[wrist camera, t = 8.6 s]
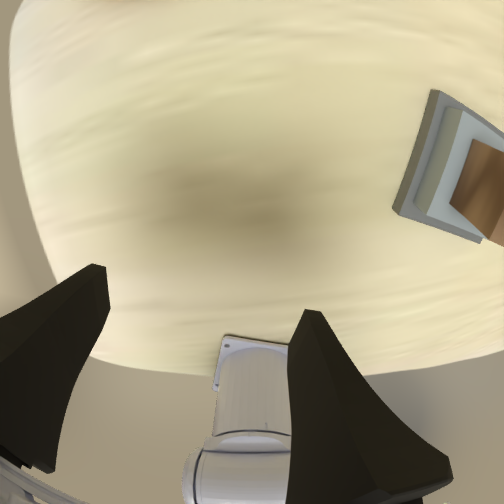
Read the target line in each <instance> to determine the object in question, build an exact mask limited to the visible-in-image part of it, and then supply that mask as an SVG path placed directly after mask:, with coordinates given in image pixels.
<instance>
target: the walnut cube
mask: <svg viewBox="0 0 504 504" xmlns="http://www.w3.org/2000/svg"><path fill="white" fill-rule="evenodd" d="M449 204H450V205H451V206H452V207H454V208H455V209H456V210H457V211H458V212H459V213H460V214H462V215H463V216H464V217H465V218H466V219H467V220H468V221H469V222H470V223H472V224H473V225H474V226H475V227H476V228H477V229H478V230H479V231H480V232H481V233H482V234H483V235H484V236H485V237H486V238H487V239H488V240H490V241H492V242H494V243H497V244H499V245H501V246H503V247H504V152H502V151H500V150H498V149H495V148H493V147H491V146H489V145H487V144H485V143H482V142H480V141H478V140H475V139H473V141H472V144H471V147H470V150H469V153H468V156H467V158H466V161H465V164H464V167H463V169H462V172H461V175H460V177H459V180H458V182H457V185H456V187H455V190H454V192H453V194H452V197H451V199H450V202H449Z"/></svg>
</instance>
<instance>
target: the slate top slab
mask: <svg viewBox="0 0 504 504" xmlns="http://www.w3.org/2000/svg"><path fill="white" fill-rule="evenodd" d="M473 139H475V140H478V141H480V142H482V143H485V144H487V145H489V146H491V147H493V148H495V149H498V150H500V151H502V152H504V139H503V138H501V137H500V136H499V135H497V134H496V133H495V132H494V131H492V130H491V129H489V128H488V127H487V126H485V125H484V124H483V123H481V122H480V121H478V120H477V119H475V118H474V117H472V116H471V115H469V114H468V113H466V112H465V111H463V110H459V109H455V108H450V107H445V110H444V114H443V117H442V121H441V124H440V127H439V131H438V134H437V137H436V140H435V143H434V146H433V149H432V152H431V155H430V158H429V161H428V164H427V166H426V169H425V172H424V175H423V177H422V180H421V183H420V185H419V188H418V190H417V193H416V196H415V198H414V200H413V203H414V204H415V205H416V206H417V207H418V208H419V209H420V210H421V211H422V212H423V213H425V214H426V215H427V216H430V217H433V218H435V219H438V220H441V221H443V222H446V223H449V224H451V225H454V226H456V227H459V228H461V229H464V230H466V231H468V232H471V233H473V234H476V235H478V236H480V237H483V238H485V239H487V238H486V237H485V236H484V235H483V234H482V233H481V232H480V231H479V230H478V229H477V228H476V227H475V226H474V225H473V224H472V223H470V222H469V221H468V220H467V219H466V218H465V217H464V216H463V215H462V214H460V213H459V212H458V211H457V210H456V209H455V208H454V207H452V206H451V205H450V204H449V202H450V199H451V197H452V194H453V192H454V190H455V187H456V185H457V182H458V180H459V177H460V175H461V172H462V169H463V167H464V164H465V161H466V158H467V156H468V153H469V150H470V147H471V144H472V141H473ZM487 240H488V239H487Z"/></svg>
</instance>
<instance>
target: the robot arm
mask: <svg viewBox="0 0 504 504" xmlns="http://www.w3.org/2000/svg"><path fill="white" fill-rule="evenodd" d="M110 309H111V308H110V300H109V292H108V283H107V273H106V267H104V266H100V265H96V264H90V265H88V266H86V267H85V268H83V269H81V270H80V271H78V272H77V273H75V274H74V275H72V276H70V277H69V278H67V279H66V280H64V281H63V282H61V283H60V284H58V285H56V286H55V287H53V288H52V289H50V290H49V291H47V292H46V293H44V294H43V295H41V296H39V297H38V298H36V299H34V300H32V301H31V302H29V303H27V304H26V305H24V306H22V307H20V308H19V309H17V310H15V311H13V312H11V313H9V314H7V315H5V316H3V317H1V318H0V504H40V503H37V502H35V501H34V499H33V496H32V495H34V496H36V497H37V498H39V499H41V500H43V501H45V502H47V503H49V504H88V503H86V502H84V501H81V500H79V499H76V498H74V497H72V496H70V495H68V494H65V493H63V492H61V491H59V490H57V489H55V488H53V487H51V486H49V485H47V484H45V483H44V482H42V481H40V480H38V479H36V478H34V477H33V476H31V475H29V474H28V473H26V472H24V471H23V470H21V466H22V465H24V466H26V467H27V468H29V469H31V468H32V466H34V467H36V468H37V469H39V470H41V471H43V472H45V473H47V474H49V473H53V472H54V471H55V465H56V457H57V449H58V443H59V438H60V433H61V428H62V424H63V420H64V416H65V413H66V409H67V405H68V402H69V399H70V396H71V393H72V390H73V387H74V385H75V382H76V380H77V378H78V375H79V373H80V372H81V370H82V368H83V366H84V364H85V362H86V360H87V358H88V356H89V354H90V352H91V350H92V348H93V347H94V345H95V343H96V341H97V339H98V337H99V335H100V333H101V331H102V329H103V327H104V324H105V322H106V319H107V316H108V314H109V311H110ZM212 389H213V391H216V392H218V396H217V402H216V410H215V417H214V425H213V432H212V437H206V438H205V442H204V447H198V448H196V449H195V450H194V451H193V452H192V453H191V454H190V455H189V456H188V458H187V460H186V463H185V466H184V469H183V476H182V493H183V498H184V501H185V503H186V504H423V500H422V497H423V496H425V495H428V494H430V493H432V492H434V491H436V490H438V489H440V488H442V487H444V486H446V485H448V484H449V483H451V482H452V480H453V479H454V478H453V474H452V469H451V466H450V461H449V458H448V456H446V455H445V454H443V453H442V452H440V451H439V450H437V449H436V448H435V447H433V446H431V445H430V444H428V443H427V442H426V441H424V440H423V439H422V438H421V437H420V436H419V435H417V434H416V433H415V432H414V431H412V430H411V429H410V428H409V427H408V426H407V425H406V424H404V423H403V422H402V421H401V420H400V419H399V418H398V417H397V416H396V415H395V414H394V413H393V412H392V411H391V410H390V409H389V408H388V406H387V405H386V404H385V403H384V402H383V401H382V400H381V399H380V397H379V396H378V395H377V394H376V393H375V392H374V390H373V389H372V388H371V387H370V385H369V384H368V383H367V382H366V380H365V379H364V377H363V376H362V375H361V373H360V372H359V371H358V369H357V368H356V366H355V365H354V363H353V362H352V360H351V359H350V357H349V356H348V354H347V353H346V351H345V350H344V348H343V347H342V345H341V343H340V342H339V340H338V339H337V337H336V335H335V334H334V332H333V330H332V329H331V327H330V325H329V324H328V322H327V320H326V319H325V317H324V316H323V314H322V312H320V311H314V310H308V309H305V310H304V312H303V315H302V317H301V319H300V321H299V323H298V326H297V328H296V330H295V332H294V334H293V336H292V339H291V341H290V343H289V345H282V344H275V343H268V342H262V341H256V340H249V339H244V338H238V337H232V336H225V337H223V340H222V345H221V349H220V354H219V358H218V363H217V368H216V372H215V377H214V382H213V386H212ZM444 504H450V502H446V503H444Z"/></svg>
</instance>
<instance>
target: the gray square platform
mask: <svg viewBox="0 0 504 504" xmlns="http://www.w3.org/2000/svg"><path fill="white" fill-rule="evenodd" d="M445 107H450V108H455V109H459V110H463V111H465V112H466V113H468V114H469V115H471V116H472V117H474V118H475V119H477V120H478V121H480V122H481V123H483V124H484V125H485V126H487V127H488V128H489V129H491V130H492V131H494V132H495V133H496V134H497V135H499V136H500V137H501V138H503V139H504V133H503V132H501V131H500V130H499V129H497V128H496V127H495V126H493V125H492V124H491V123H489V122H488V121H487V120H485V119H484V118H482V117H481V116H480V115H478V114H477V113H475V112H474V111H472V110H471V109H469V108H468V107H466V106H465V105H463V104H462V103H460V102H458V101H457V100H455V99H454V98H452V97H450V96H449V95H447V94H445V93H444V92H442V91H440V90H430V94H429V98H428V102H427V106H426V109H425V113H424V116H423V120H422V123H421V127H420V130H419V133H418V136H417V140H416V143H415V146H414V149H413V152H412V155H411V158H410V161H409V164H408V167H407V169H406V172H405V175H404V178H403V180H402V183H401V186H400V189H399V191H398V194H397V196H396V199H395V201H394V204H393V207H392V209H393V210H394V211H395V212H396V213H397V214H398V215H399V216H402V217H405V218H408V219H411V220H414V221H417V222H420V223H423V224H426V225H429V226H432V227H435V228H438V229H441V230H444V231H446V232H449V233H452V234H455V235H457V236H460V237H463V238H465V239H468V240H471V241H473V242H476V243H478V244H480V243H481V241H482V239H483V237H480V236H478V235H476V234H473V233H471V232H468V231H466V230H464V229H461V228H459V227H456V226H454V225H451V224H449V223H446V222H443V221H441V220H438V219H435V218H433V217H430V216H427V215H426V214H425V213H423V212H422V211H421V210H420V209H419V208H418V207H417V206H416V205H415V204H414V203H413V200H414V198H415V196H416V193H417V190H418V188H419V185H420V183H421V180H422V177H423V175H424V172H425V169H426V166H427V164H428V161H429V158H430V155H431V152H432V149H433V146H434V143H435V140H436V137H437V134H438V131H439V127H440V124H441V121H442V117H443V114H444V110H445Z"/></svg>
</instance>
